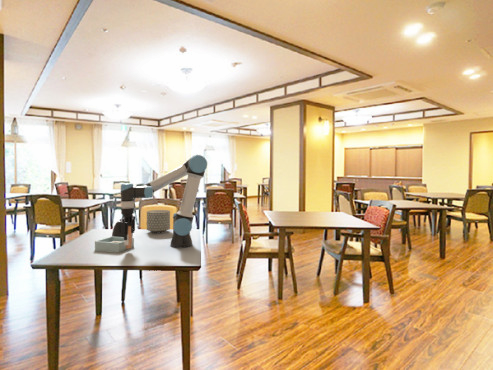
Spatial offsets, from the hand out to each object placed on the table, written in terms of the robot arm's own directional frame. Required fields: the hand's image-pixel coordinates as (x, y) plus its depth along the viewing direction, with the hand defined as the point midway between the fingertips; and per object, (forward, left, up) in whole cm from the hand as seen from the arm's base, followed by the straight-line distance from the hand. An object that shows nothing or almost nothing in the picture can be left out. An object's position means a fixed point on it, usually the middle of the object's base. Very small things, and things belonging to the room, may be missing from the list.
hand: (128, 243), depth 195 cm
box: (+15, -6, -6) cm, 17 cm away
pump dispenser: (+24, -23, -6) cm, 33 cm away
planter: (+15, -62, -6) cm, 64 cm away
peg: (0, 0, -3) cm, 3 cm away
